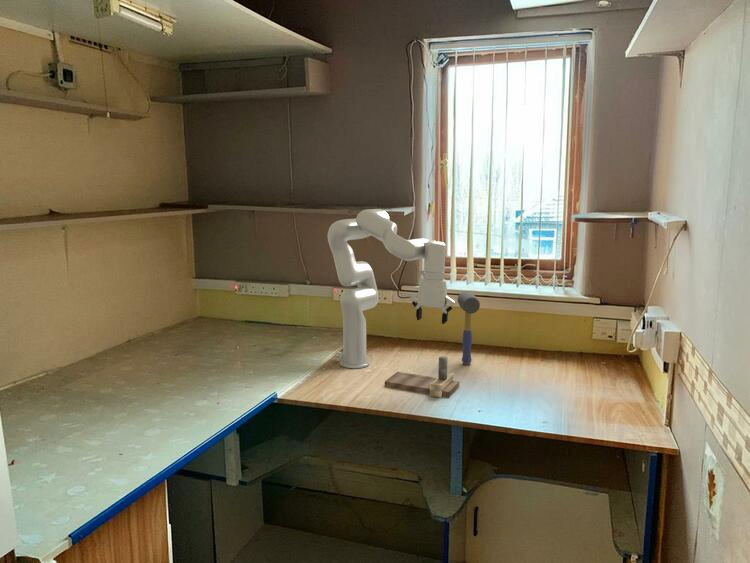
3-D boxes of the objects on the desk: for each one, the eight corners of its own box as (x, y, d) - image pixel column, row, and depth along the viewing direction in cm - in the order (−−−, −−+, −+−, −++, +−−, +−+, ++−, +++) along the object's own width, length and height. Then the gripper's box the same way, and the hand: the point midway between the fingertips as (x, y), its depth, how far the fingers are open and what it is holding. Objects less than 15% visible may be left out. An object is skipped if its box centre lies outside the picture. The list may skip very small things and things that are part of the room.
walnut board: (384, 386, 213) (384, 381, 212) (397, 376, 224) (397, 371, 223) (449, 397, 202) (449, 391, 202) (459, 386, 213) (459, 381, 213)
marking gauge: (429, 395, 203) (430, 363, 201) (443, 382, 217) (444, 351, 214) (440, 397, 201) (441, 364, 199) (453, 383, 215) (454, 353, 213)
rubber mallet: (479, 368, 233) (481, 296, 227) (460, 369, 232) (462, 296, 227) (471, 359, 245) (474, 290, 240) (454, 359, 245) (456, 290, 239)
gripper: (407, 274, 207) (405, 320, 211) (453, 280, 200) (450, 327, 204) (415, 271, 214) (413, 315, 218) (460, 276, 207) (457, 322, 210)
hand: (431, 321), depth 211 cm, fingers open, 9 cm apart
